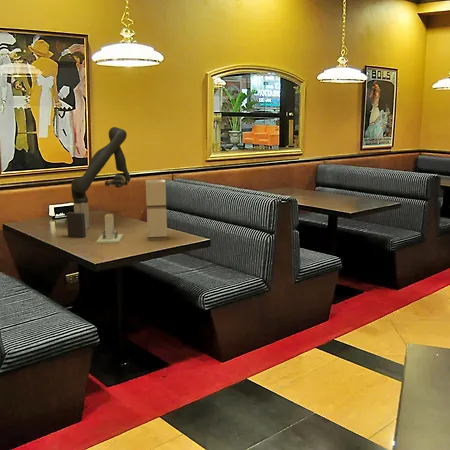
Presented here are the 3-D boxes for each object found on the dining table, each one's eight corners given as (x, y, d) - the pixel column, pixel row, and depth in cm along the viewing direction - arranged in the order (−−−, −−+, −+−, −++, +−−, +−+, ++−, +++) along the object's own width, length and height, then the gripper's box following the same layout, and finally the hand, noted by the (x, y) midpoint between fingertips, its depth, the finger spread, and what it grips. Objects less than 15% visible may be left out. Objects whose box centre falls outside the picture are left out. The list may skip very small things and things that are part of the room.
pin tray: (96, 243, 322) (96, 234, 321) (102, 236, 340) (101, 228, 338) (118, 243, 322) (118, 234, 321) (123, 236, 340) (122, 227, 339)
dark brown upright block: (86, 236, 339) (85, 212, 336) (82, 238, 335) (81, 214, 332) (71, 235, 343) (69, 211, 340) (67, 236, 339) (65, 212, 336)
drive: (105, 238, 328) (104, 215, 325) (107, 236, 334) (106, 214, 331) (112, 238, 328) (111, 215, 325) (114, 236, 334) (113, 213, 331)
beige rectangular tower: (166, 235, 341) (164, 179, 333) (167, 239, 330) (165, 182, 323) (147, 236, 339) (145, 180, 332) (147, 240, 329) (146, 182, 321)
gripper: (107, 175, 364) (103, 178, 348) (129, 175, 364) (125, 178, 349) (108, 186, 366) (103, 190, 350) (129, 186, 366) (126, 190, 350)
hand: (114, 184), depth 349 cm, fingers open, 8 cm apart
